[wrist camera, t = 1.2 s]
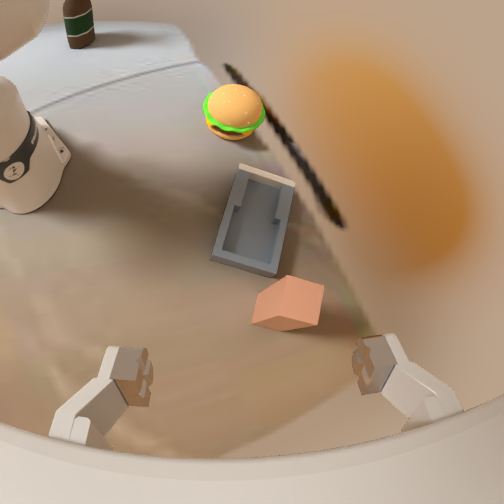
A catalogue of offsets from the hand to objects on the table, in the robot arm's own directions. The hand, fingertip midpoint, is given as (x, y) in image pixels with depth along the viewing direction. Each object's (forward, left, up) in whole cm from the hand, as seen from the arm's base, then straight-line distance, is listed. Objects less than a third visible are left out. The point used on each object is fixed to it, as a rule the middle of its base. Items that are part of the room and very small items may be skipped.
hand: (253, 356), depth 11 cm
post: (+2, +13, -37) cm, 39 cm away
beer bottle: (-79, +12, -37) cm, 88 cm away
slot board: (-12, +20, -37) cm, 43 cm away
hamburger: (-32, +29, -37) cm, 57 cm away
